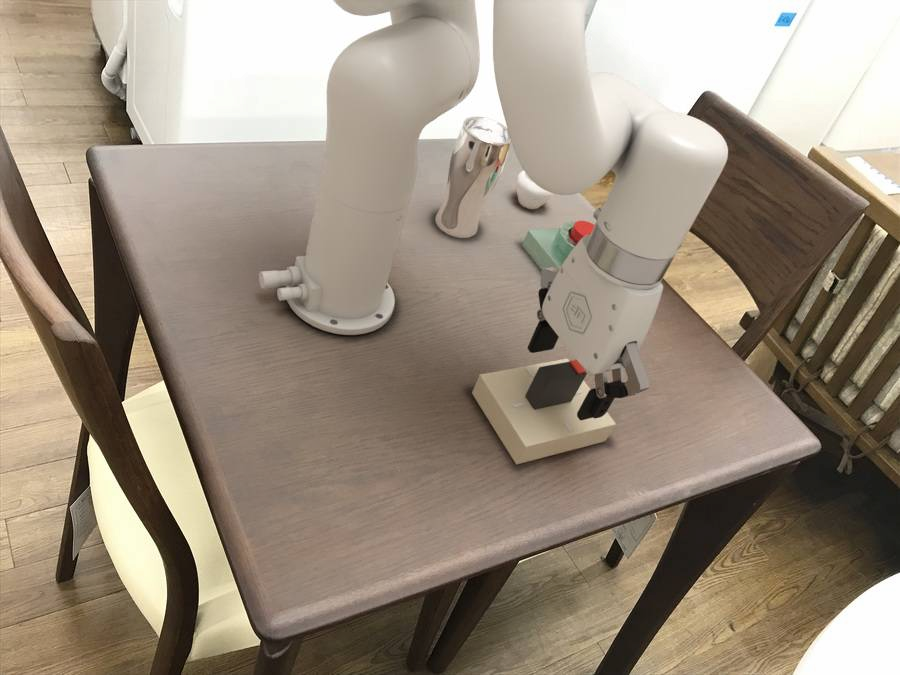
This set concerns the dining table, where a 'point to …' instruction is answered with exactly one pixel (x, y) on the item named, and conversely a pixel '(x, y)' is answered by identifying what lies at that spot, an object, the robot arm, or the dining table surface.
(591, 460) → the dining table surface
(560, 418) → the dial panel
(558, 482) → the dining table surface
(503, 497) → the dining table surface
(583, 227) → the button
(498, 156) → the beer glass
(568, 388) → the knob
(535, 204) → the muffin
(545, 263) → the housing
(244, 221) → the dining table surface
